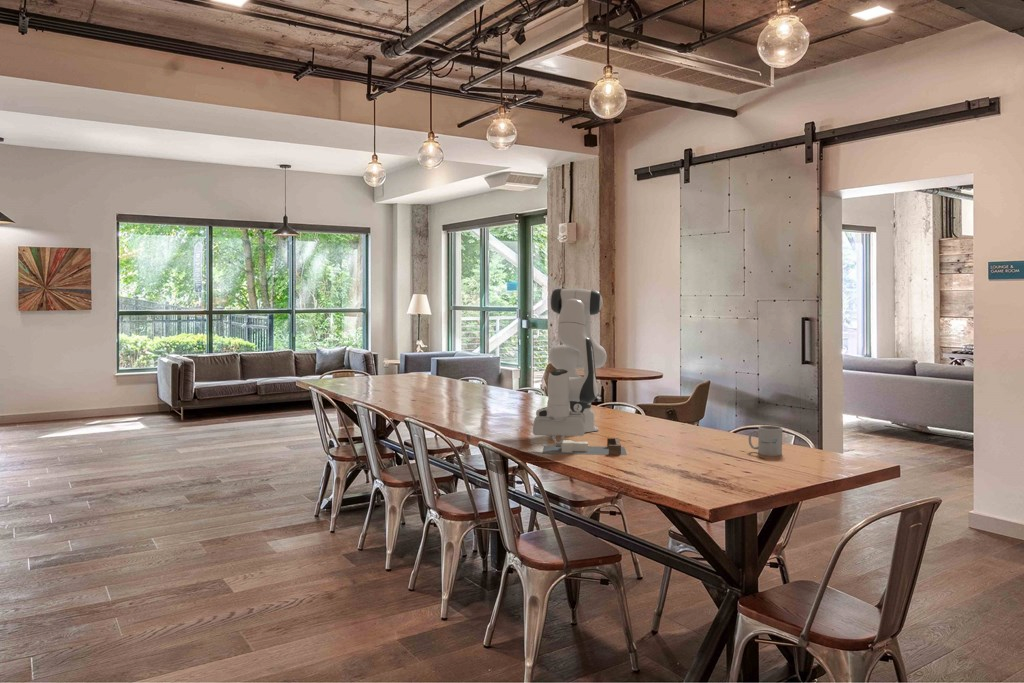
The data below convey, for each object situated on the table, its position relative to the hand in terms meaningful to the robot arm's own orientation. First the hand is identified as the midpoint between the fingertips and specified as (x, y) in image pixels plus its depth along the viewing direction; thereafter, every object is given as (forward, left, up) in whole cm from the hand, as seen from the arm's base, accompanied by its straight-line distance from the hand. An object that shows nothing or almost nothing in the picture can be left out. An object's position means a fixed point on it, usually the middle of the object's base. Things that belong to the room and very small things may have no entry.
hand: (558, 446), depth 292 cm
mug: (-3, +80, -2) cm, 80 cm away
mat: (0, +10, -2) cm, 10 cm away
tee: (0, +6, -1) cm, 7 cm away
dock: (0, +22, -1) cm, 22 cm away
